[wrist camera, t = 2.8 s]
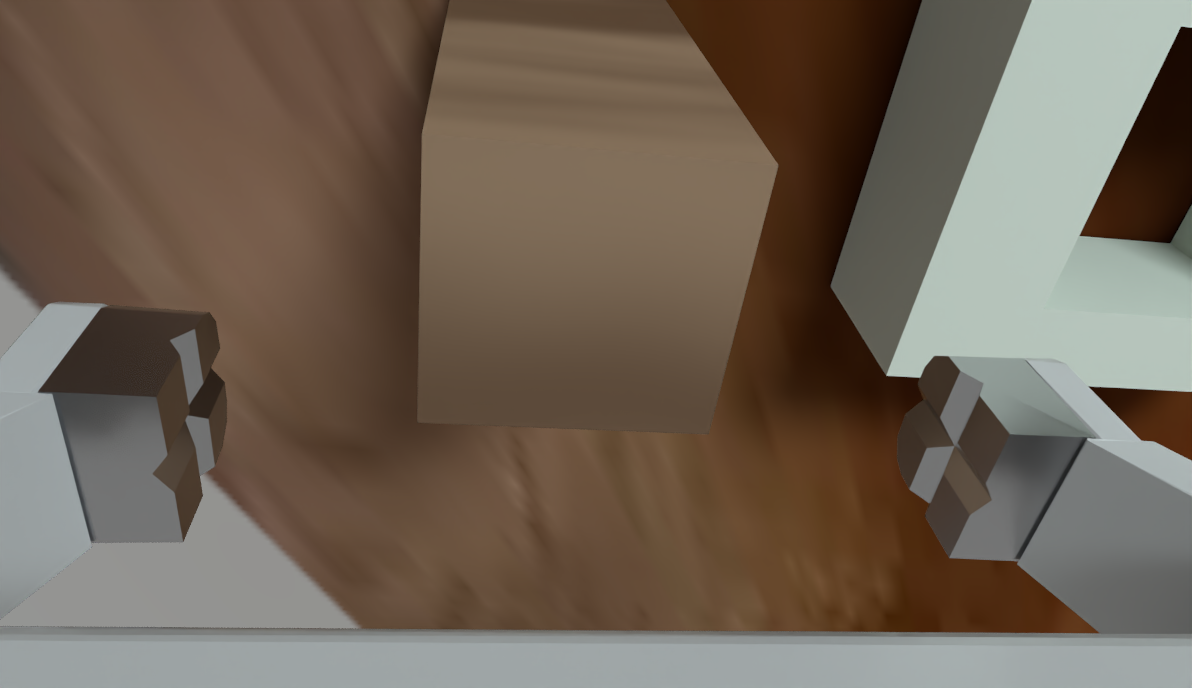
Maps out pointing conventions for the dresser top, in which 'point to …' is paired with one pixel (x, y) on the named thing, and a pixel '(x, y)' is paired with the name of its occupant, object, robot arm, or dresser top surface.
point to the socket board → (1018, 197)
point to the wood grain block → (581, 219)
